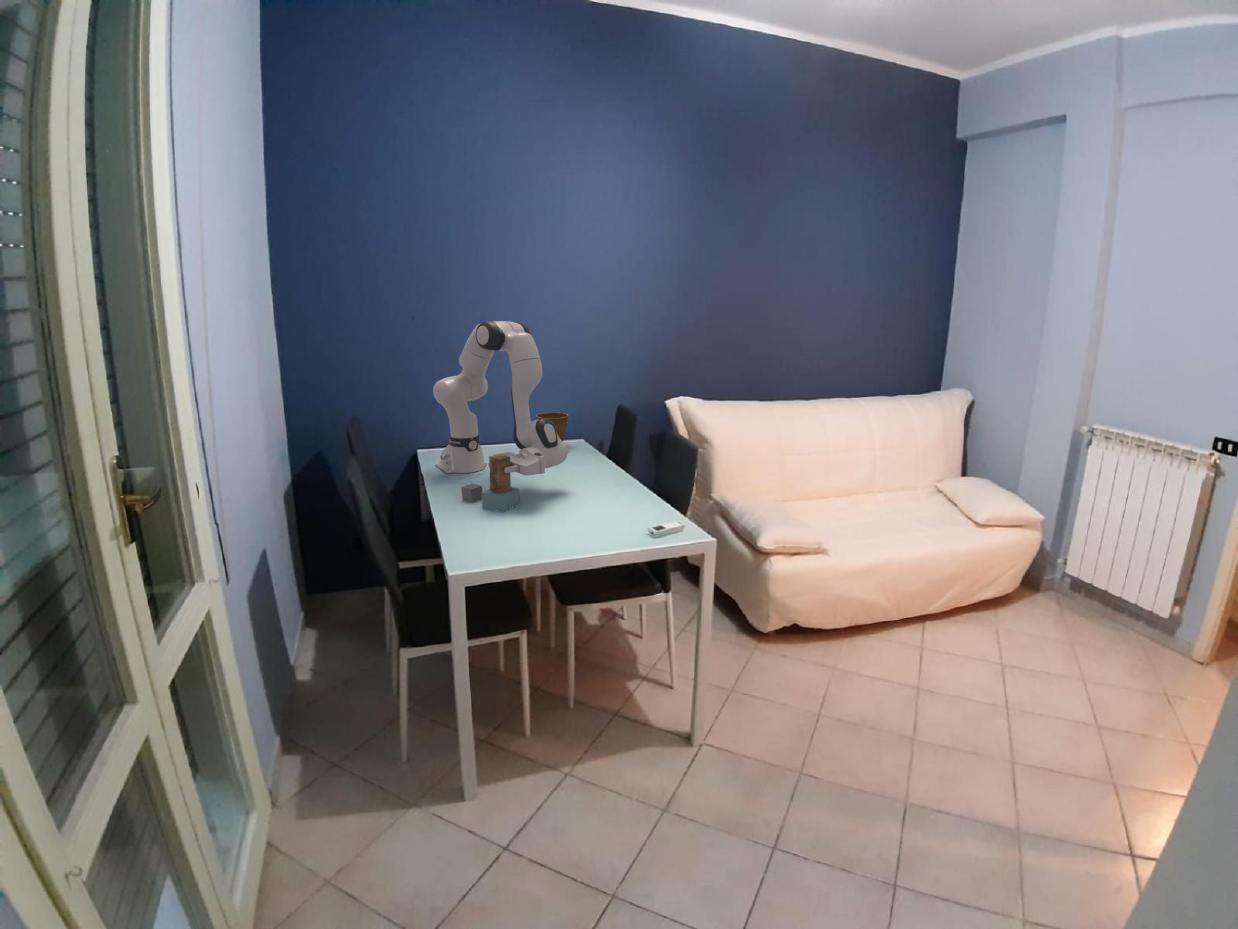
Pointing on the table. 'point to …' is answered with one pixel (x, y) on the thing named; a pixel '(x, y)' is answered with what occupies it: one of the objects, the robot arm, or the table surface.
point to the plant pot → (557, 422)
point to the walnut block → (499, 473)
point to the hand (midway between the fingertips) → (496, 467)
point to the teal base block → (500, 499)
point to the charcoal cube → (471, 492)
